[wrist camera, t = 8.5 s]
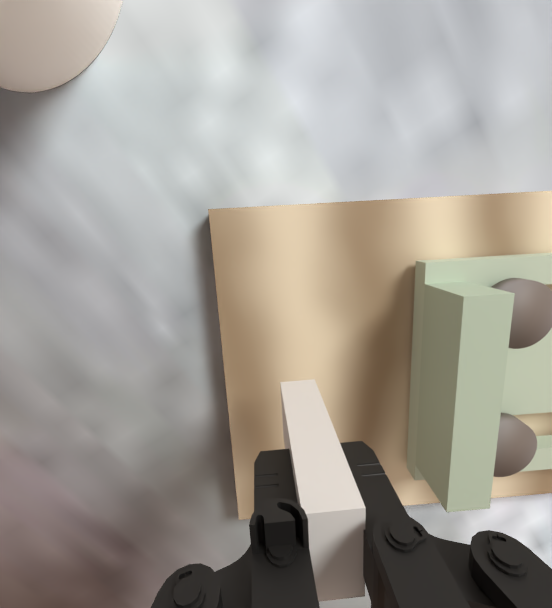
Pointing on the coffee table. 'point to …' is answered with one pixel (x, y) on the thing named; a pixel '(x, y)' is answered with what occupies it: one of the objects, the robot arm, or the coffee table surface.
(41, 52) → the mug
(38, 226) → the coffee table surface
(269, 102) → the coffee table surface
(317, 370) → the board
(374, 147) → the coffee table surface
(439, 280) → the panel
